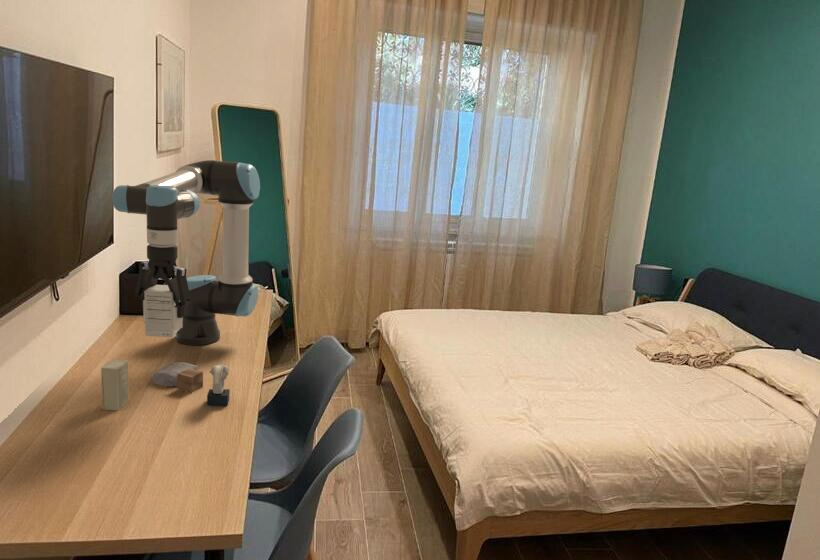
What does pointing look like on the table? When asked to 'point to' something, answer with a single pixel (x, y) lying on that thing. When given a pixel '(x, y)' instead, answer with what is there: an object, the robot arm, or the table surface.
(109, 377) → the skincare box
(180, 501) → the table surface
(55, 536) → the table surface
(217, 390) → the watch
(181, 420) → the table surface
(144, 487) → the table surface
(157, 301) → the supplement box
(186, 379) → the walnut cube
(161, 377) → the stone block
